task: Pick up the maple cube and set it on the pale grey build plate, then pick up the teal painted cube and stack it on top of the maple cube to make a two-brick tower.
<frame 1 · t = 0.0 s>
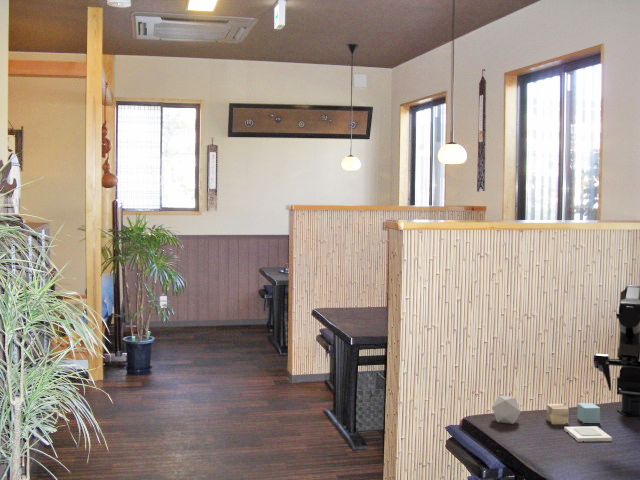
hand: (627, 392, 200), 15 cm above the table, tool tilted 35°, fingers open, 9 cm apart
build plate: (587, 435, 208), on the table
die: (506, 422, 221), on the table
maple brick: (557, 421, 220), on the table
teal brick: (588, 421, 221), on the table
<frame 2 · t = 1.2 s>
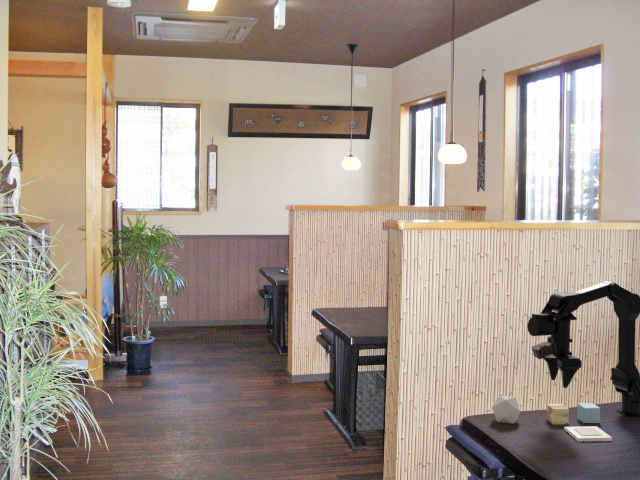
hand: (558, 383, 219), 12 cm above the table, tool pointing down, fingers open, 9 cm apart
nothing on the table moved.
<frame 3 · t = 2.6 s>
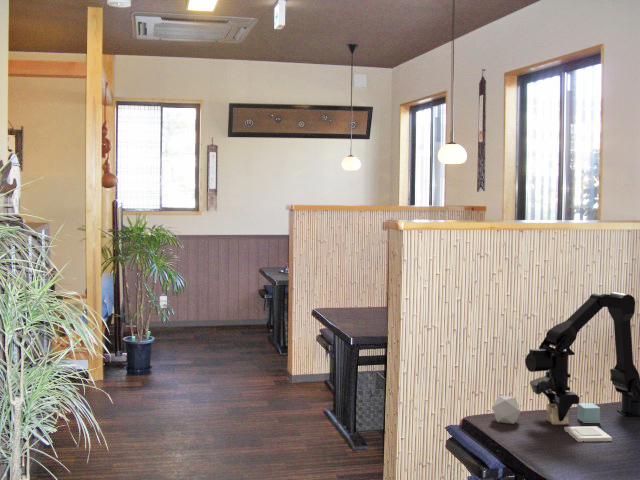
hand: (557, 418, 220), 1 cm above the table, tool pointing down, fingers closed on maple brick, 5 cm apart
maple brick: (557, 421, 220), on the table, touching gripper
everything else where it was.
when the fingers open (4 cm above the table, at t = 6.7 s): maple brick drops 2 cm, resting on build plate.
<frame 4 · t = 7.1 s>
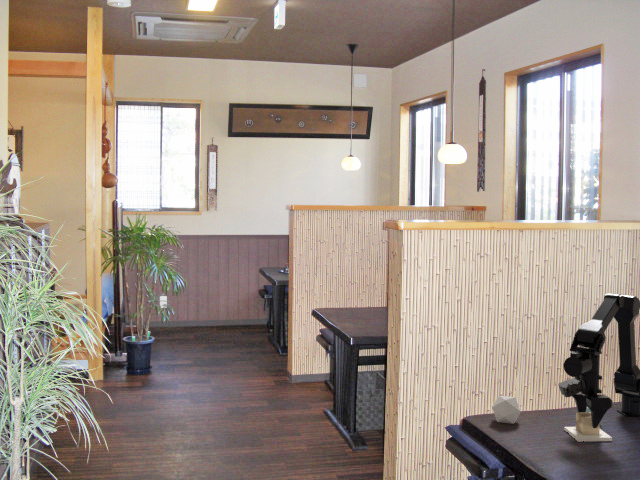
hand: (587, 422, 207), 4 cm above the table, tool pointing down, fingers open, 9 cm apart
maple brick: (587, 431, 207), point 1 cm above the table, touching build plate
everything else where it was.
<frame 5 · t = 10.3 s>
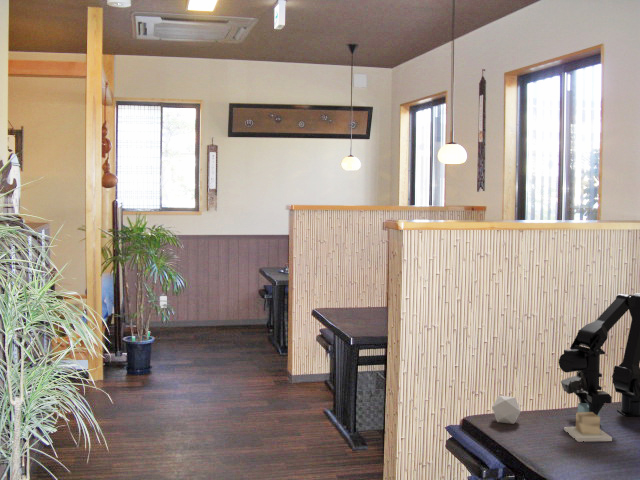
hand: (588, 417, 221), 1 cm above the table, tool pointing down, fingers closed on teal brick, 5 cm apart
teal brick: (588, 421, 221), on the table, touching gripper
everything else where it was.
when the fingers open (9 cm above the table, at t = 13.7 s): teal brick drops 1 cm, resting on maple brick.
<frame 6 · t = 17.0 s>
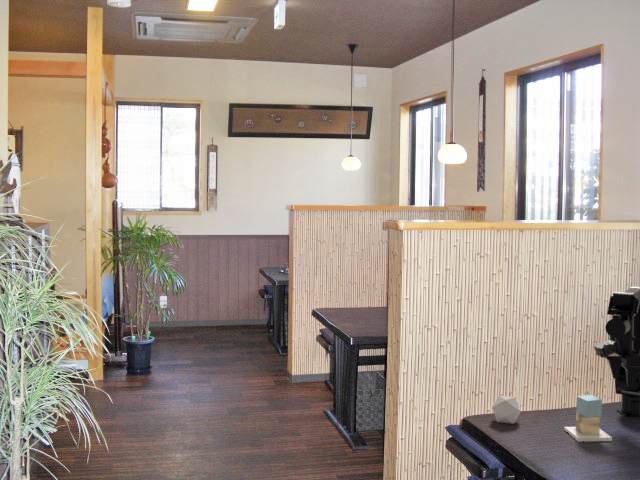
hand: (622, 382, 217), 13 cm above the table, tool pointing down, fingers open, 9 cm apart
maple brick: (587, 431, 207), point 1 cm above the table, touching build plate, teal brick
teal brick: (588, 414, 207), point 6 cm above the table, touching maple brick
everything else where it was.
at the end: maple brick 0.1 cm off-centre on the build plate, point 1.2 cm above the build plate's base; teal brick 0.4 cm off-centre on the build plate, point 6.2 cm above the build plate's base; teal brick tilted 0° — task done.
